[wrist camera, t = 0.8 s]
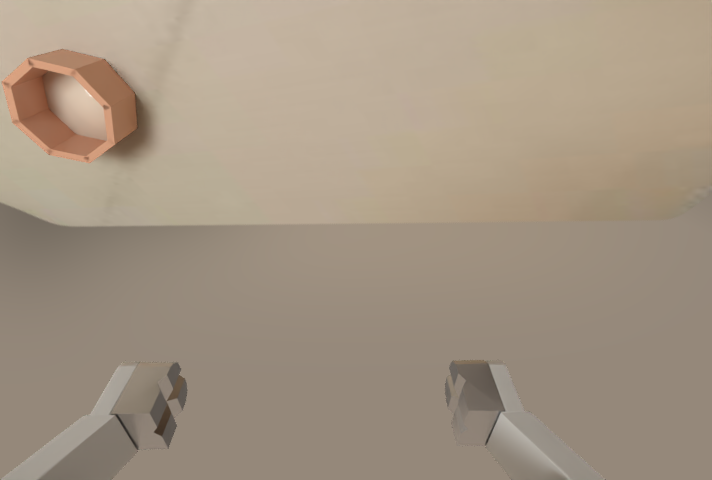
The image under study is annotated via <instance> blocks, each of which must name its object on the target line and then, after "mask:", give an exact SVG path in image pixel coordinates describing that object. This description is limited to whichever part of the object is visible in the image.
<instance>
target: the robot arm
mask: <svg viewBox="0 0 712 480" xmlns="http://www.w3.org/2000/svg"><path fill="white" fill-rule="evenodd" d="M449 369H450V373H451V374H450V375H449V376H448V377H447V378H446V383H445V395H446V402H447V406H448V409H449V410H450V411H451V412H452V413H453V414H454V416H453V420H452V428H453V431H454V436H455V440H456V444H457V445H465V446H466V445H467V446H486V449H487V450H488V451H489V452H490V454H491V455H492V456H493V457H494V458H495V460H496V461H497V462H498V464H499V465H500V466H501V467H502V469H503V470H504V471H505V472H506V474H507V475H508V476H509V477H510V478H511V480H606V479H604V478H603V477H602V476H601V475H600V474H599V473H598V472H597V471H596V470H594V469H593V468H592V467H591V466H590V465H589V464H588V463H586V461H584V460H583V459H582V458H581V457H580V456H579V455H578V454H577V453H576V452H574V451H573V450H572V449H571V448H570V447H569V446H568V445H567V444H565V443H564V442H563V441H562V440H561V439H560V438H559V437H558V436H557V435H556V434H555V433H553V432H552V431H551V430H550V429H549V428H548V427H547V426H546V425H545V424H543V423H542V422H541V421H540V420H539V419H538V418H537V417H536V416H535V415H533V414H532V413H531V412H530V411H525V410H524V408H523V406H522V403H521V401H520V398H519V396H518V394H517V391H516V389H515V386H514V384H513V381H512V379H511V377H510V374H509V372H508V369H507V367H506V365H505V363H504V362H503V361H501V360H492V361H491V360H490V361H484V360H462V361H452V362H451V364H450V367H449ZM180 371H181V368H180V366H179V364H178V363H177V362H123V363H122V364H121V365H120V366H119V367H118V368H117V369H116V371H115V373H114V374H113V376H112V378H111V380H110V382H109V383H108V385H107V386H106V388H105V390H104V392H103V393H102V395H101V397H100V398H99V400H98V402H97V404H96V405H95V407H94V409H93V410H92V412H91V414H90V415H84V416H83V417H82V418H80V419H79V420H78V421H76V422H75V423H74V424H72V425H71V426H70V427H68V428H67V429H66V430H64V431H63V432H62V433H61V434H59V435H58V436H57V437H55V438H54V439H53V440H51V441H50V442H49V443H48V444H46V445H45V446H44V447H42V448H41V449H40V450H39V451H37V452H36V453H34V454H33V455H32V456H31V457H29V458H28V459H27V460H25V461H24V462H23V463H21V464H20V465H19V466H17V467H16V468H15V469H14V470H12V471H11V472H10V473H8V474H7V475H6V476H4V477H3V478H2V479H0V480H112V479H113V478H114V477H115V476H116V475H117V473H118V472H119V471H120V470H121V469H122V468H123V467H124V466H125V465H126V464H127V463H128V462H129V461H130V460H131V459H132V458H133V456H134V455H135V454H136V453H137V452H138V451H137V450H146V449H168V448H169V445H170V443H171V440H172V437H173V435H174V432H175V429H176V427H177V424H176V422H175V419H174V418H175V417H176V416H177V415H178V414H179V413H181V412H182V410H183V408H184V405H185V402H186V397H187V383H186V380H185V378H183V377H182V376H180V375H179V374H180Z"/></svg>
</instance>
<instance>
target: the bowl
mask: <svg viewBox="0 0 712 480" xmlns="http://www.w3.org/2000/svg"><path fill="white" fill-rule="evenodd" d="M2 85H3V89H4V92H5V96H6V100H7V104H8V108H9V111H10V115H11V119H12V123H13V124H15V125H16V126H17V127H18V128H19V129H20V130H21V131H23V132H24V133H25V134H26V135H27V136H28V137H29V138H30V139H32V140H33V141H34V142H35V143H36V144H37V145H38V146H40V147H41V148H42V149H43V150H44V151H45V152H46V153H47V154H49V155H53V156H57V157H62V158H67V159H72V160H77V161H82V162H87V163H91V162H92V161H93V160H95V159H96V158H97V157H99V156H100V155H102V154H103V153H104V152H106V151H107V150H108V149H110V148H111V147H112V146H114V145H115V144H116V143H118V142H119V141H121V140H122V139H123V138H125V137H126V136H127V135H129V134H130V133H132V132H133V131H134V130H136V129H137V114H136V101H135V93H134V92H133V91H132V89H131V88H130V87H129V86H128V85H127V84H126V83H125V82H124V81H123V79H122V78H121V77H120V76H119V75H118V74H117V73H116V72H115V71H114V69H113V68H112V67H111V66H110V65H109V64H108V63H107V62H106V61H105V59H101V58H97V57H93V56H89V55H85V54H81V53H77V52H73V51H69V50H65V49H61V50H57V51H53V52H49V53H45V54H41V55H37V56H33V57H30V58H27V59H26V60H25V61H24V62H23V63H22V64H21V65H20V66H19V67H17V68H16V69H15V70H14V71H13V72H12V73H11V74H10V75H9V76H8V77H6V78H5V79H4V80H3V81H2Z"/></svg>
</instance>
